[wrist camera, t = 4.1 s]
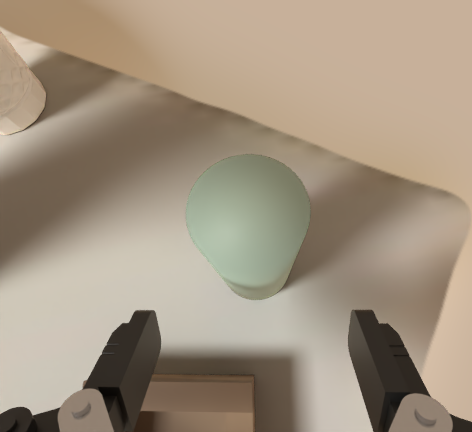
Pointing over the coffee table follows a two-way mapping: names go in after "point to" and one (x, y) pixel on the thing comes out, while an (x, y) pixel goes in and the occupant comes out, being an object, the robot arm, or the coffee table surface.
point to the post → (249, 222)
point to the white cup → (17, 91)
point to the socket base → (198, 404)
